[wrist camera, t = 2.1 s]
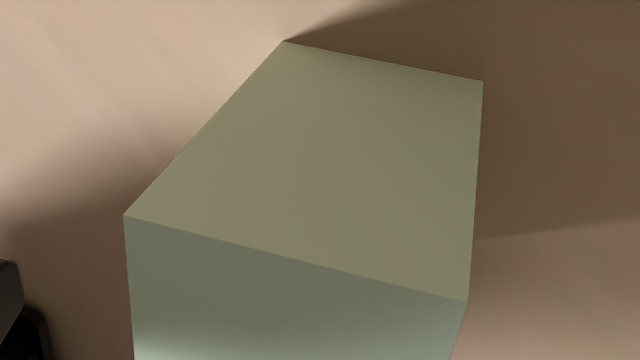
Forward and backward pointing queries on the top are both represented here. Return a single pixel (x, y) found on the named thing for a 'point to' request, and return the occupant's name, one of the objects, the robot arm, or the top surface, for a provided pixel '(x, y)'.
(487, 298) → the top surface
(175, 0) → the top surface
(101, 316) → the top surface
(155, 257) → the sage block
